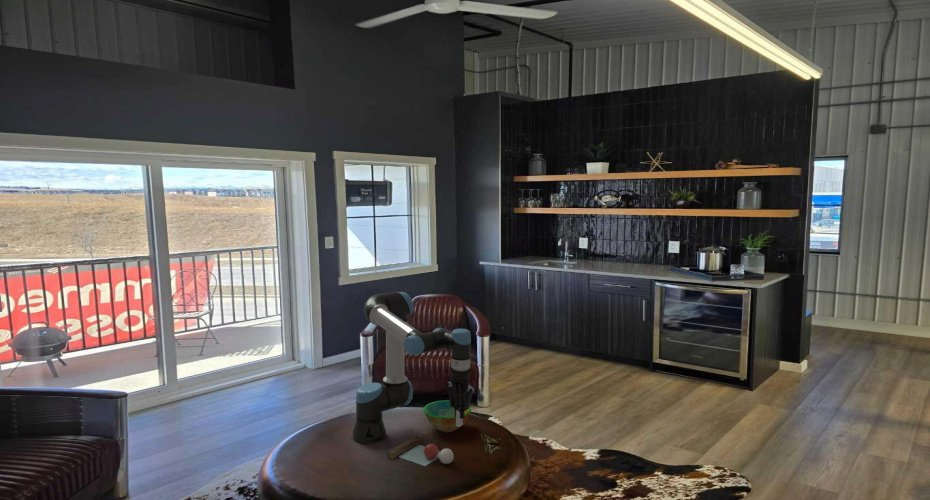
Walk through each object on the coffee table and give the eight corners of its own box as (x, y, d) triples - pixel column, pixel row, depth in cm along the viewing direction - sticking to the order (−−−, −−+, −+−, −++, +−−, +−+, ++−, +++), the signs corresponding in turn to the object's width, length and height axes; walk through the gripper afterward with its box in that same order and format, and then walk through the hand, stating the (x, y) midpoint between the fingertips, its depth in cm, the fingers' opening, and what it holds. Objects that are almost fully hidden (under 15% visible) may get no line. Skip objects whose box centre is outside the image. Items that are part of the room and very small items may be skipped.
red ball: (433, 461, 231) (422, 460, 234) (442, 456, 236) (431, 455, 239) (431, 446, 231) (420, 446, 235) (440, 442, 236) (429, 441, 239)
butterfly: (508, 456, 239) (486, 452, 237) (505, 463, 240) (483, 459, 238) (498, 431, 257) (478, 427, 254) (496, 437, 257) (475, 434, 255)
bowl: (459, 417, 280) (459, 397, 279) (478, 434, 259) (479, 413, 258) (416, 423, 271) (416, 403, 270) (433, 442, 250) (433, 420, 249)
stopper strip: (387, 457, 235) (387, 451, 235) (417, 440, 252) (417, 435, 252) (391, 459, 234) (391, 453, 234) (421, 442, 251) (421, 436, 250)
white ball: (448, 466, 226) (437, 465, 230) (457, 461, 231) (446, 461, 235) (446, 450, 227) (435, 450, 231) (455, 446, 232) (444, 446, 235)
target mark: (398, 457, 236) (398, 456, 236) (419, 445, 248) (419, 444, 248) (425, 466, 228) (425, 465, 228) (445, 453, 240) (445, 453, 240)
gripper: (441, 367, 224) (440, 424, 226) (469, 374, 217) (467, 432, 219) (452, 362, 230) (451, 418, 233) (479, 369, 223) (478, 426, 226)
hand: (459, 425), depth 226 cm, fingers closed
